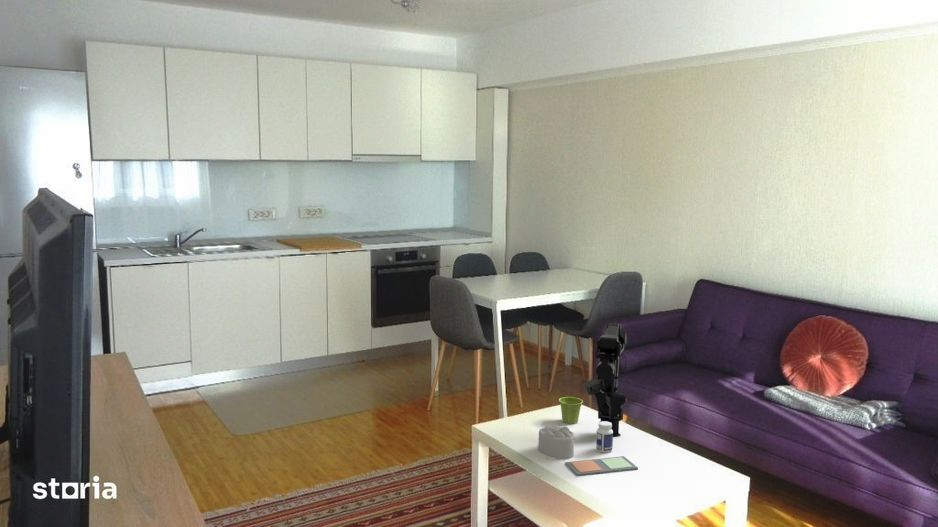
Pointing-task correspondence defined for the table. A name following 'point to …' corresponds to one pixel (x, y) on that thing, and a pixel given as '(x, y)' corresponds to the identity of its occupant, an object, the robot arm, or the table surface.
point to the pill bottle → (604, 437)
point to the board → (601, 466)
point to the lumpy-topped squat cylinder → (556, 442)
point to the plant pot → (570, 409)
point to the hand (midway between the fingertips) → (605, 414)
